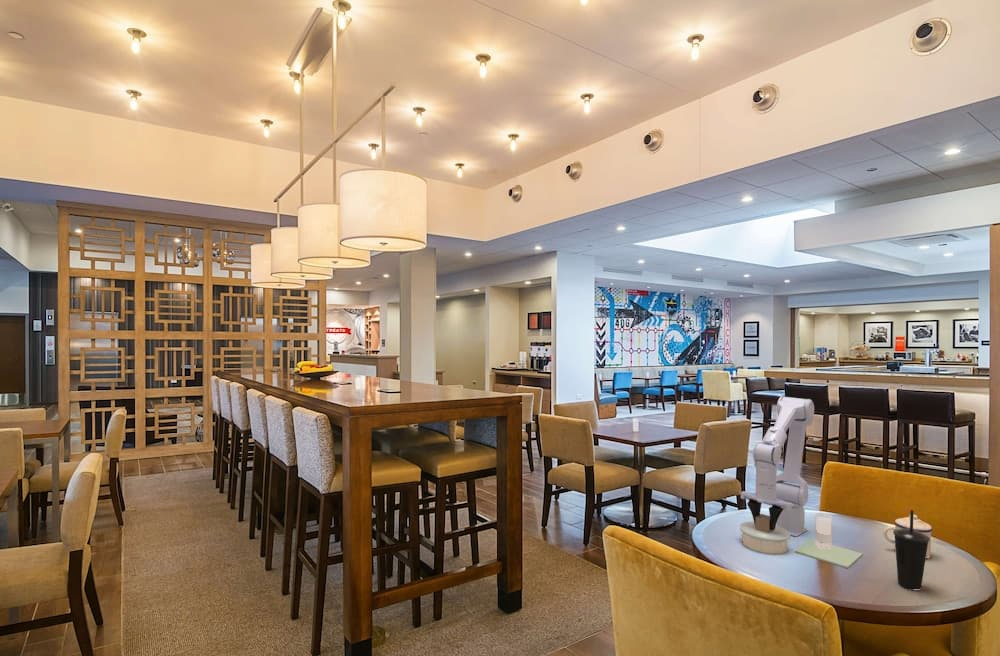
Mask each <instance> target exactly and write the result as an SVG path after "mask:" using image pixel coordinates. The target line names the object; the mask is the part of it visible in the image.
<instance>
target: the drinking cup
mask: <svg viewBox="0 0 1000 656" xmlns="http://www.w3.org/2000/svg"><path fill="white" fill-rule="evenodd" d="M914 512H915V511H914V510H913V509H910V511H909V515H910V529H897V530H893V532H892V533H893V535H894V541H895V544H894V548H895V547H896V550H895V558H896V573H897V584H898V586H900V587H901V588H903V587H904V589H906V588H907V589H906V590H909V589H920V588H921V589H922V585H923V577H924V573H925V564H926V560H927V559H926V553H927V546H928V542H929V541H930V538H929V537H928V536H926V535H924V534H923V533H921V532H919V531H916V530H913V515H915V514H914Z"/></svg>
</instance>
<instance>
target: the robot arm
mask: <svg viewBox="0 0 1000 656" xmlns="http://www.w3.org/2000/svg"><path fill="white" fill-rule="evenodd" d="M776 410H777V413H778V414H777V417H776V421H775V422H774V425H773V426H770V427H768V429H767V431H766V433H765V434H764V436H763V438H762V440H761V442H759V443H757V444H755V445H754V448H753V450H752V451H753V452H752V458H753V461H754V462H753V463H754V465H753V466H754V467H755V491H754V492H750V491H746V490H745V491H741V492H740V499H742V500H748V502H747V503H746V504H747V507H748V509H749V510H750V513H751V515H752V520H753V522H754V524H755V521H756V516H758V515H760V514H761V508H762V505H763V504H765V505H769V506H770V507H769V508H768V510H769V511H768V513H769V516H770V530H772V531H773V530H774V529H775V526H776V525H777V526H780V527H782V528H784V529H786V530H787V531H789V532H790V536H793V537H799V536H800V535H802V534H803V533H805V532H806V531H808V528H806V527H805V508H804V507H805V505H806V504H808V500H809V485H808V482H807V481H806V480H805V479H804V478H803V477H802V476H801V469H802V462H803V461H802V460H803V455H804V454H803V453H804V446H805V438H806V432H807V427H809V426H812V425H813V421H814V416H815V415H814V414H815V405H814V402H813V400H812V399H810V398H799V397H798V398H797V397H791V396H790V397H789V396H783V395H781V396H780V397H779V398H778V400H777V403H776ZM788 429H789V430H788ZM787 431H788V435H787V433H786V432H787ZM786 440H787V444H786V452H785V459H784V467H783V472H781V473H780V474H777V473H778V472H777V471H778V470H777V469H778V464H780V461H781V456H782V452H783V450H782V448H783V447H784V445H785V443H786Z"/></svg>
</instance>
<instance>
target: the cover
mask: <svg viewBox="0 0 1000 656" xmlns="http://www.w3.org/2000/svg"><path fill="white" fill-rule="evenodd" d="M739 530H740V532H741V533H742V532H743V533H744V534H746V535H748V536H750V537H753V538H756V539H760V540H765V541H774V542H780V541H786V540H790V539H791V535H790V532H789V531H787V530H786V529H784V528H782V527H780V526H777V525H776V526H775V529H774V530H773V531H772V530H770V515H767V514H763V513H760V515H758V516H756V521H755V524H754V521H743V522H742V523H740V525H739Z"/></svg>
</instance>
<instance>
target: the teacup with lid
mask: <svg viewBox="0 0 1000 656" xmlns="http://www.w3.org/2000/svg"><path fill="white" fill-rule="evenodd" d="M894 524H895V526H887V527H885V528H883V536H884V538H885V539H886V541H887V542H888V543H891V544H894V545H895V540H892V539H889V537H888V531H889V530H893V531H894V530H897V529H910V514H909V516H906V517H901V518H896V519H895V520H894ZM913 530H916V531H919V532H921V533H923V534H924V535H926V536H928V537H929V538H930V541H929V542H928V546H927V553H926V557H929V556H930V557H931V555H932V553H931V552H932V551H931V549H932V548H931V547H932V531H933V527H932V526H931V525H930V524H929V523H927V522H924V521H922V520H921V519H919V518H918V515H916V514H913ZM894 551H896V547H895V546H894Z"/></svg>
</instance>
